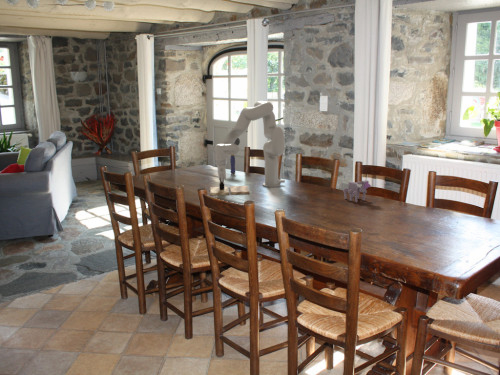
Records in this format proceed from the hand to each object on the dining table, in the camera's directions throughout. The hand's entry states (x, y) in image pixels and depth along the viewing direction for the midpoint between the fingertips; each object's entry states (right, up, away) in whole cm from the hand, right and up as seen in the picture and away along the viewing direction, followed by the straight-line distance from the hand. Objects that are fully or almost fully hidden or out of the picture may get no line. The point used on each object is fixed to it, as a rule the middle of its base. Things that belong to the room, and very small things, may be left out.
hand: (221, 189), depth 333 cm
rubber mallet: (+5, +12, +62) cm, 63 cm away
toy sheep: (+86, -7, -29) cm, 91 cm away
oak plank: (-2, -2, 0) cm, 2 cm away
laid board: (+12, -1, +1) cm, 12 cm away
